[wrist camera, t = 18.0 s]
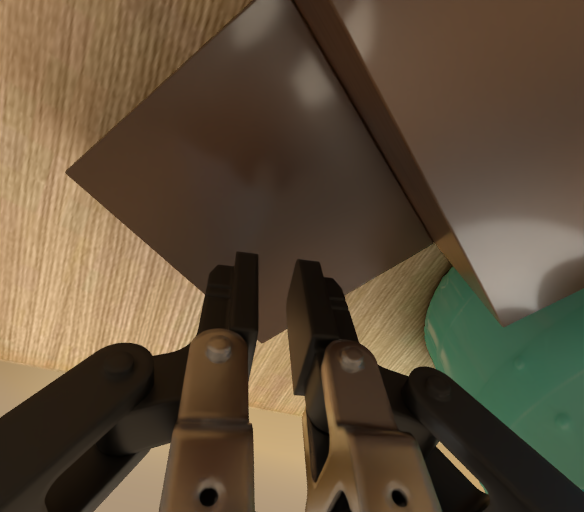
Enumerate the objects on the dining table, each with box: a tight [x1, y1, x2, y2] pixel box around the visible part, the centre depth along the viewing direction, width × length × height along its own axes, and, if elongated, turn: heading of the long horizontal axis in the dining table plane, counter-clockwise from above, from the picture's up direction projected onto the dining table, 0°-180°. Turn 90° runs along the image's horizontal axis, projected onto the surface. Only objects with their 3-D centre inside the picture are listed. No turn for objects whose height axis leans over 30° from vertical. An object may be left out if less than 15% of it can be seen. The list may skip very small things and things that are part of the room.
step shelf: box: [65, 0, 584, 343], centre depth 14 cm, size 13×17×9 cm
